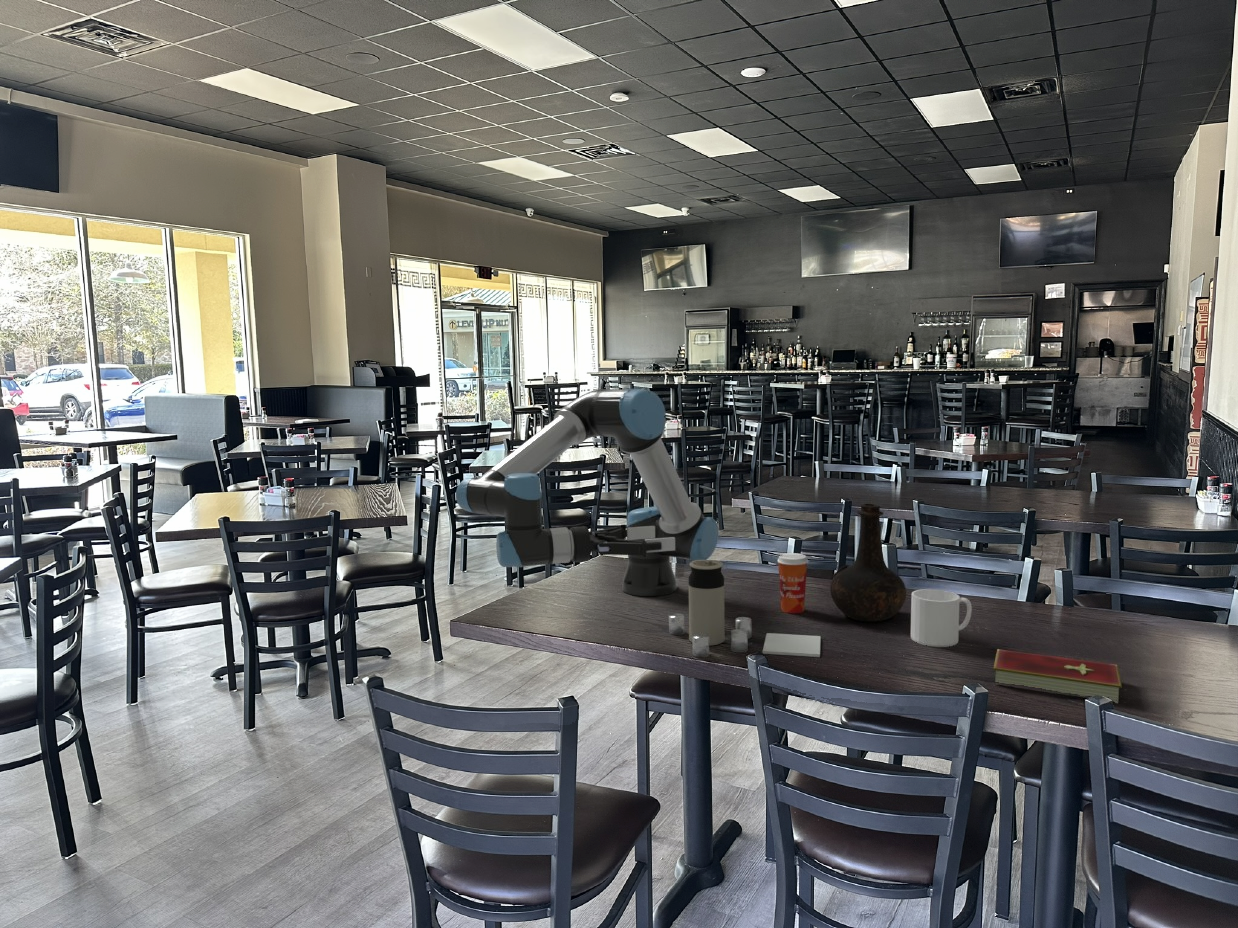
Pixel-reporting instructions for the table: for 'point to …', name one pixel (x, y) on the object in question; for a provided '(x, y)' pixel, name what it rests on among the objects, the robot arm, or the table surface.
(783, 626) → the table surface
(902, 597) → the glass bottle
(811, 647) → the rubber mat
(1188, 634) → the table surface
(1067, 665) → the hardcover book
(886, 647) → the table surface
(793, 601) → the paper cup
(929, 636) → the mug
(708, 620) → the travel mug
